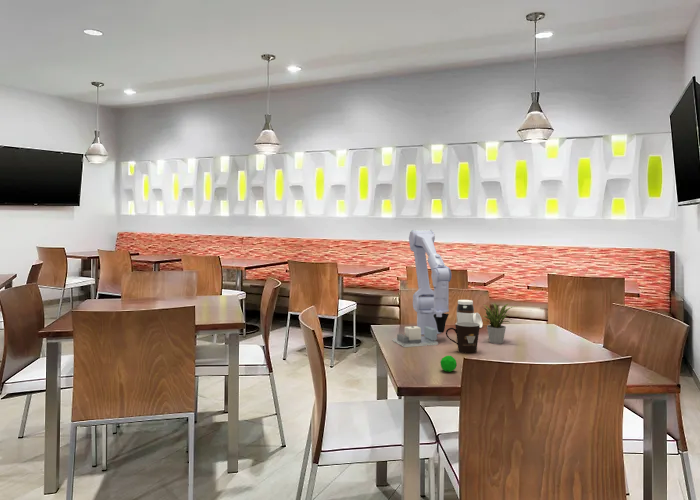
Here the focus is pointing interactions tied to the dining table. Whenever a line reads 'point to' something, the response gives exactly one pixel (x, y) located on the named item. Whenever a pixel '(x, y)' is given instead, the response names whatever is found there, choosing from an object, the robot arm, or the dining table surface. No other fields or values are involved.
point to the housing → (413, 332)
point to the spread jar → (467, 312)
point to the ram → (430, 333)
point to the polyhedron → (448, 363)
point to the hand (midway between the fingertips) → (440, 332)
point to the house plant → (496, 324)
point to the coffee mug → (466, 336)
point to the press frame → (413, 341)
